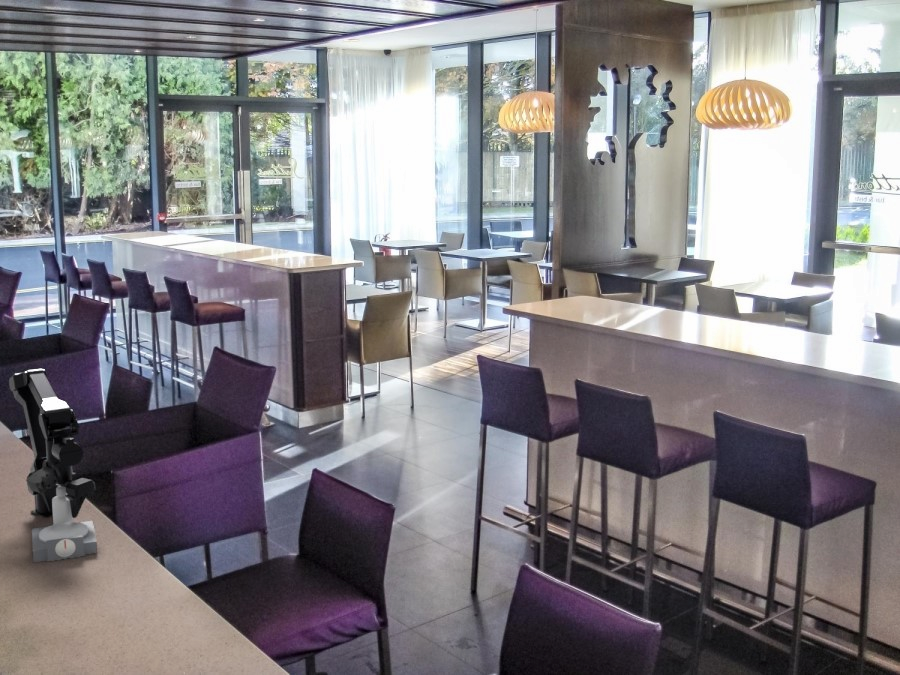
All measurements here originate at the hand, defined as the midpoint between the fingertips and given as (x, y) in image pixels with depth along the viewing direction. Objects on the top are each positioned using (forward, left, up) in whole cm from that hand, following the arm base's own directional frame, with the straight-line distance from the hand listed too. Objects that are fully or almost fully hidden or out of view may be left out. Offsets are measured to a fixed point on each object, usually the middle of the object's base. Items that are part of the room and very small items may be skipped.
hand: (62, 514), depth 238 cm
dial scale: (+10, -8, -4) cm, 13 cm away
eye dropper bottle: (0, 0, -4) cm, 4 cm away
